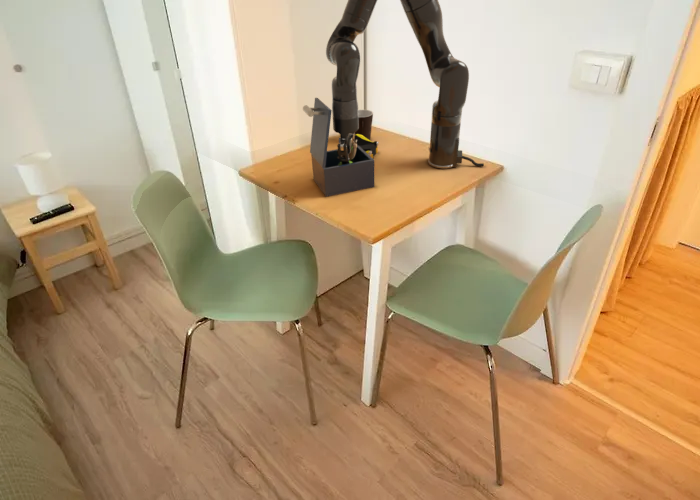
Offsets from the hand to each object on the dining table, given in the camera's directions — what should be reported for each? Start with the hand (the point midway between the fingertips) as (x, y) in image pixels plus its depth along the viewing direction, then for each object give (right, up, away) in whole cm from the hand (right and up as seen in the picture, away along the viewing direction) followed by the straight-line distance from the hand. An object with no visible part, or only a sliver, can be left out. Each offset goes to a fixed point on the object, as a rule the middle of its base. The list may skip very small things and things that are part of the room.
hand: (347, 167), depth 143 cm
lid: (-8, +9, -9) cm, 15 cm away
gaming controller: (+5, +8, +20) cm, 22 cm away
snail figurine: (0, -3, +2) cm, 3 cm away
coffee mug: (+5, +16, +32) cm, 36 cm away
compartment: (-1, -4, +2) cm, 5 cm away
